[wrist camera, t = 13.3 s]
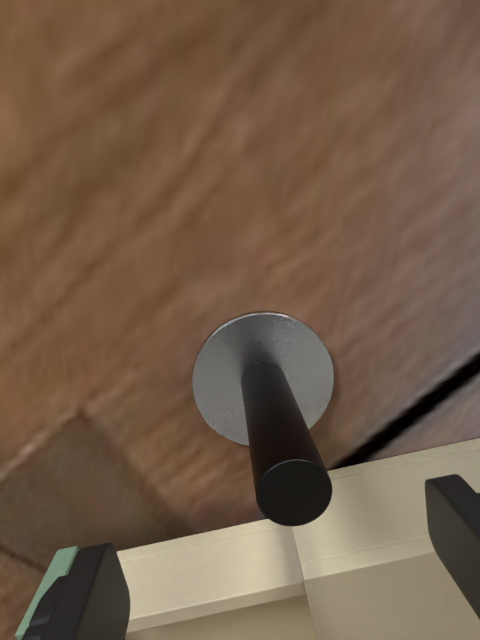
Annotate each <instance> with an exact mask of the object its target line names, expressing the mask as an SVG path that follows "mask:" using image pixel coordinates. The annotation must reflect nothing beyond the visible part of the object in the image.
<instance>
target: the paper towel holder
mask: <svg viewBox="0 0 480 640" xmlns="http://www.w3.org/2000/svg"><path fill="white" fill-rule="evenodd" d="M333 386H334V369H333V364H332V360H331V357H330V354H329V352H328V350H327V348H326V346H325V344H324V343H323V341H322V340H321V339H320V338H319V336H318V335H317V334H316V333H315V332H314V331H313V330H312V329H311V328H310V327H309V326H307V325H306V324H305V323H303V322H302V321H300V320H298V319H296V318H294V317H292V316H289V315H287V314H283V313H279V312H272V311H256V312H250V313H246V314H242V315H239V316H237V317H234V318H232V319H230V320H228V321H226V322H225V323H223V324H222V325H220V326H219V327H218V328H217V329H215V330H214V331H213V332H212V333H211V334H210V335H209V336H208V338H207V339H206V340H205V342H204V343H203V345H202V346H201V348H200V350H199V352H198V354H197V357H196V359H195V363H194V367H193V373H192V391H193V396H194V400H195V403H196V406H197V408H198V410H199V412H200V414H201V415H202V417H203V418H204V420H205V421H206V422H207V423H208V424H209V426H210V427H211V428H212V429H214V430H215V431H216V432H217V433H218V434H220V435H222V436H223V437H225V438H227V439H229V440H231V441H233V442H236V443H239V444H242V445H247V446H249V448H250V456H251V463H252V471H253V478H254V486H255V493H256V500H257V504H258V506H259V508H260V510H261V512H262V513H263V514H264V515H265V516H266V517H267V518H268V519H269V520H271V521H272V522H274V523H277V524H279V525H283V526H291V527H292V526H301V525H305V524H308V523H310V522H312V521H314V520H315V519H317V518H318V517H320V516H321V515H322V514H323V513H324V512H325V510H326V509H327V507H328V505H329V503H330V501H331V497H332V483H331V480H330V477H329V475H328V473H327V470H326V468H325V466H324V464H323V461H322V459H321V457H320V454H319V452H318V450H317V448H316V445H315V443H314V441H313V438H312V436H311V434H310V431H309V429H310V428H311V427H312V426H313V425H314V424H315V423H316V422H317V421H318V420H319V419H320V418H321V416H322V415H323V413H324V411H325V410H326V408H327V406H328V404H329V402H330V398H331V395H332V392H333Z"/></svg>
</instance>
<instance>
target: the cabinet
mask: <svg viewBox="0 0 480 640" xmlns="http://www.w3.org/2000/svg"><path fill="white" fill-rule="evenodd" d="M327 473H328V475H329V477H330V480H331V483H332V497H331V501H330V503H329V505H328V507H327V509H326V510H325V512H324V513H323V514H322V515H321V516H320V517H318V518H317V519H315V520H314V521H312V522H310V523H308V524H305V525H301V526H292V527H291V529H292V534H293V538H294V542H295V546H296V551H297V555H298V559H299V563H300V568H301V572H302V576H303V581H304V585H305V590H306V595H307V599H308V604H309V609H310V613H311V618H312V623H313V627H314V632H315V637H316V640H480V619H479V618H478V616H477V615H476V613H475V612H474V610H473V609H472V607H471V606H470V604H469V603H468V601H467V600H466V598H465V597H464V595H463V594H462V592H461V591H460V589H459V587H458V586H457V584H456V583H455V581H454V580H453V578H452V577H451V575H450V574H449V572H448V571H447V569H446V568H445V566H444V565H443V563H442V562H441V560H440V559H439V557H438V555H437V554H436V552H435V550H434V547H433V545H432V542H431V539H430V536H429V532H428V524H427V512H426V499H425V481H426V480H427V479H432V478H436V477H441V476H446V475H451V474H458V475H460V476H461V477H462V478H463V479H464V480H465V481H466V482H467V483H468V484H469V485H470V486H471V488H472V489H473V490H474V491H475V492H476V493H480V438H477V439H472V440H468V441H463V442H458V443H454V444H449V445H445V446H440V447H435V448H431V449H426V450H422V451H417V452H412V453H408V454H403V455H399V456H394V457H389V458H385V459H380V460H376V461H371V462H366V463H362V464H357V465H353V466H348V467H343V468H339V469H334V470H330V471H327Z"/></svg>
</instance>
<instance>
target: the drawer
mask: <svg viewBox="0 0 480 640" xmlns="http://www.w3.org/2000/svg"><path fill="white" fill-rule="evenodd" d="M78 551H79V549H78V547H77V546H74V547H69V548H65V549H60V550H58V551H57V552H56V554H55V556H54V558H53V560H52V562H51V564H50V566H49V568H48V570H47V572H46V574H45V576H44V578H43V580H42V582H41V584H40V586H39V588H38V590H37V592H36V594H35V596H34V598H33V600H32V602H31V604H30V606H29V608H28V610H27V612H26V614H25V616H24V618H23V620H22V622H21V624H20V626H19V627H18V629H17V631H16V633H15V637H16V639H17V640H21V639H22V637H23V635H24V633H25V630H26V628H28V627H29V622H30V620H31V618H32V615H33V613H34V611H35V609H36V607H37V605H38V603H39V600H40V598H41V597H42V596H43V595H44V594H45V592H46V591H47V590H48V589H49V587H50V586H51V585H52V584H53V583H54V581H55V580H56V579H57V578H58V577H60V576H65V575H68V573H69V570H70V568H71V565H72V563H73V561H74V558H75V556H76V554H77V552H78ZM117 555H118V558H119V561H120V564H121V567H122V570H123V573H124V576H125V579H126V582H127V585H128V589H129V593H130V617H129V622H128V627H127V631H126V636H125V640H316V637H315V632H314V627H313V623H312V618H311V613H310V609H309V604H308V599H307V595H306V590H305V585H304V581H303V576H302V572H301V568H300V563H299V559H298V555H297V551H296V546H295V542H294V538H293V534H292V529H291V526H283V525H279V524H277V523H274V522H272V521H271V520H269V519H265V520H260V521H255V522H251V523H246V524H242V525H237V526H232V527H228V528H223V529H219V530H214V531H209V532H205V533H200V534H196V535H191V536H186V537H182V538H177V539H173V540H168V541H163V542H159V543H154V544H150V545H145V546H140V547H136V548H131V549H127V550H122V551H117Z"/></svg>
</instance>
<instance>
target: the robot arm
mask: <svg viewBox="0 0 480 640" xmlns="http://www.w3.org/2000/svg"><path fill="white" fill-rule="evenodd" d="M425 499H426V512H427V524H428V532H429V536H430V539H431V542H432V545H433V547H434V550H435V552H436V554H437V555H438V557H439V559H440V560H441V562H442V563H443V565H444V566H445V568H446V569H447V571H448V572H449V574H450V575H451V577H452V578H453V580H454V581H455V583H456V584H457V586H458V587H459V589H460V591H461V592H462V594H463V595H464V597H465V598H466V600H467V601H468V603H469V604H470V606H471V607H472V609H473V610H474V612H475V613H476V615H477V616H478V618H479V619H480V493H476V492H475V491H474V490H473V489H472V488H471V486H470V485H469V484H468V483H467V482H466V481H465V480H464V479H463V478H462V477H461V476H460V475H458V474H451V475H446V476H441V477H436V478H432V479H427V480H426V481H425ZM129 617H130V593H129V589H128V585H127V582H126V579H125V576H124V573H123V570H122V567H121V564H120V561H119V558H118V555H117V552H116V549H115V547H114V545H113V544H112V543H105V544H100V545H95V546H90V547H85V548H81V549H80V550H79V551H78V552H77V554H76V556H75V558H74V561H73V563H72V565H71V568H70V570H69V573H68V575H65V576H60V577H58V578H57V579H56V580H55V581H54V583H53V584H52V585H51V586H50V587H49V589H48V590H47V591H46V592H45V594H44V595H43V596H42V597H41V598H40V600H39V603H38V605H37V607H36V609H35V611H34V613H33V615H32V618H31V620H30V622H29V627H28V628H26V630H25V633H24V635H23V637H22V639H21V640H125V636H126V631H127V627H128V622H129Z"/></svg>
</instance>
